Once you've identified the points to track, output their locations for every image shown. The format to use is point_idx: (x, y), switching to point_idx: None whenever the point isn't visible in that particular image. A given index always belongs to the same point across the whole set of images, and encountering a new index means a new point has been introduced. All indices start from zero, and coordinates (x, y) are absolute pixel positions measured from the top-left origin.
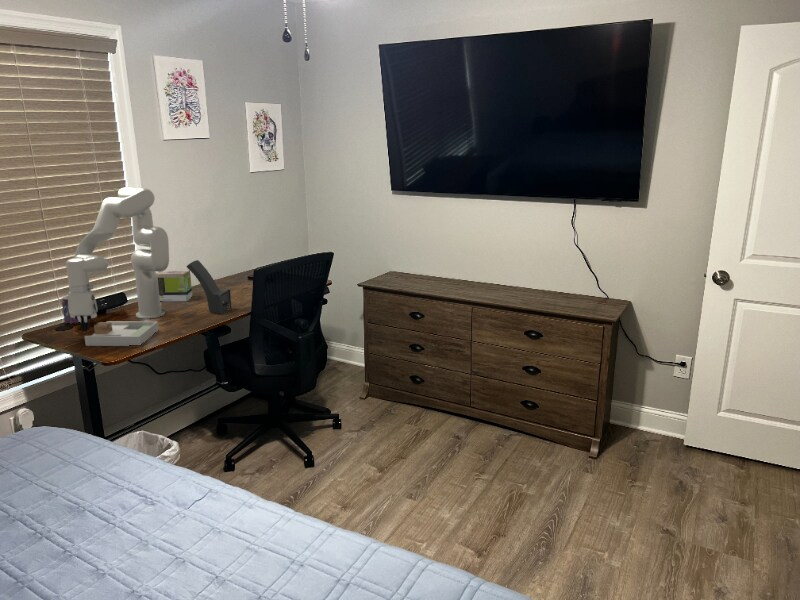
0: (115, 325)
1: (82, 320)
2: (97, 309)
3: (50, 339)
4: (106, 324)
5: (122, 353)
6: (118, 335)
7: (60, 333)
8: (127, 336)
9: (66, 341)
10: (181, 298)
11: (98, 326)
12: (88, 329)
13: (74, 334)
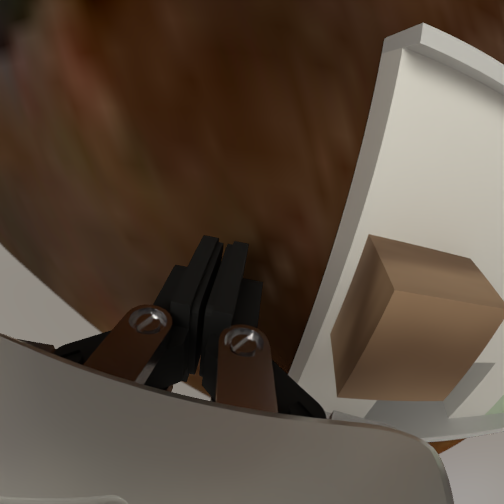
0: (492, 103)
1: (177, 380)
2: (447, 493)
3: (16, 236)
4: (455, 370)
5: (439, 444)
6: (480, 358)
7: (6, 113)
8: (495, 431)
9: (121, 295)
10: None
11: (380, 394)
12: (245, 260)
13: (96, 136)
